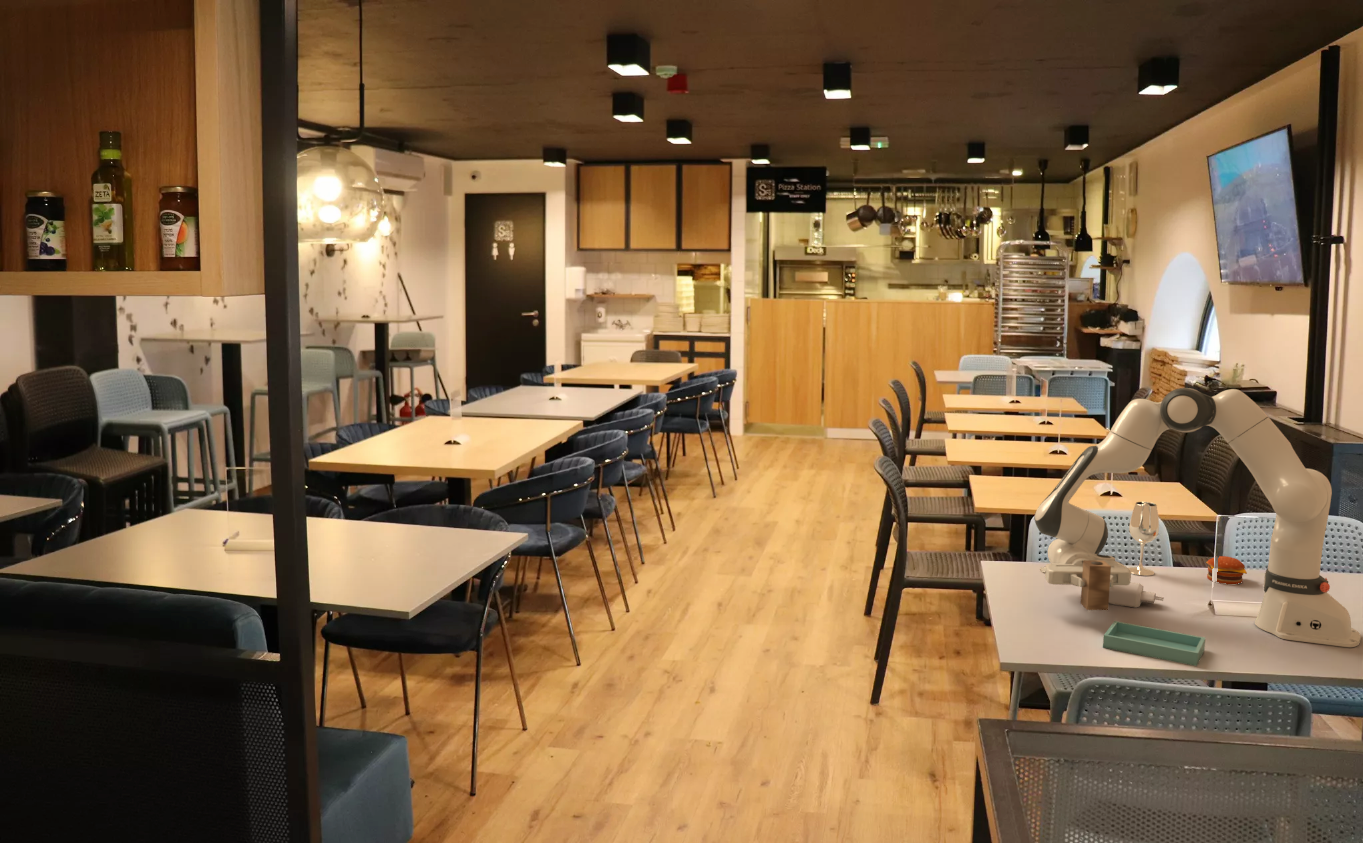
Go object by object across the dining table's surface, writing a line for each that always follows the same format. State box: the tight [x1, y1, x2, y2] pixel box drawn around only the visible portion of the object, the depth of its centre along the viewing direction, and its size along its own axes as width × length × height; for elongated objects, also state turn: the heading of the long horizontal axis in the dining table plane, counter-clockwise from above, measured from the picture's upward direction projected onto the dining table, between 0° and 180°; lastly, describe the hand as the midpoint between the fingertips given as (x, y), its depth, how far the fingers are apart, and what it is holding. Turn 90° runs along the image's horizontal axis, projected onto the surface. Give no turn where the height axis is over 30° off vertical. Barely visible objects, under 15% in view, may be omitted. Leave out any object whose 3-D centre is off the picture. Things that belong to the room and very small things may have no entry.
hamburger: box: [1205, 555, 1248, 585], centre depth 313 cm, size 9×10×7 cm
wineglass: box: [1127, 501, 1160, 577], centre depth 318 cm, size 8×8×20 cm
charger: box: [1108, 581, 1165, 609], centre depth 292 cm, size 5×9×15 cm
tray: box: [1102, 620, 1206, 667], centre depth 259 cm, size 20×12×3 cm, turn 58°
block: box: [1080, 560, 1111, 611], centre depth 273 cm, size 5×5×11 cm
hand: (1097, 584), depth 272 cm, fingers closed on block, 5 cm apart
